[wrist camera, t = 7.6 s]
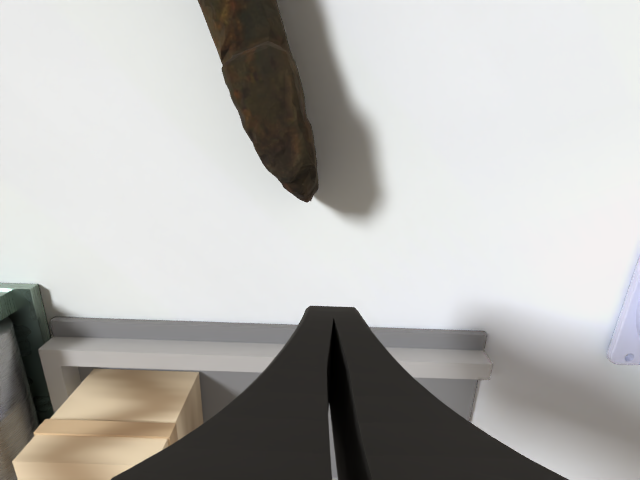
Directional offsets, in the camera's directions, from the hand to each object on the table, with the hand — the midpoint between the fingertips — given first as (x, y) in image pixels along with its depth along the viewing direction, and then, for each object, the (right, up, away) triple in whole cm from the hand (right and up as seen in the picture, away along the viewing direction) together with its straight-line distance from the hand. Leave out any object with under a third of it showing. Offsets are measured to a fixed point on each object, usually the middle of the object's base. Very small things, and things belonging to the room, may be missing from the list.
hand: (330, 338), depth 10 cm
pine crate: (-10, -8, +12) cm, 18 cm away
